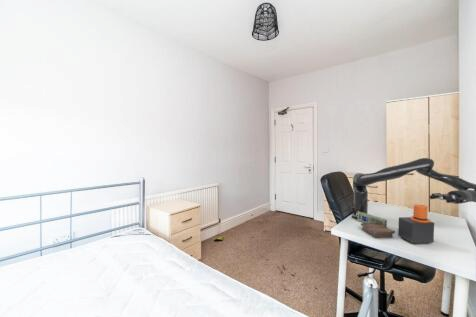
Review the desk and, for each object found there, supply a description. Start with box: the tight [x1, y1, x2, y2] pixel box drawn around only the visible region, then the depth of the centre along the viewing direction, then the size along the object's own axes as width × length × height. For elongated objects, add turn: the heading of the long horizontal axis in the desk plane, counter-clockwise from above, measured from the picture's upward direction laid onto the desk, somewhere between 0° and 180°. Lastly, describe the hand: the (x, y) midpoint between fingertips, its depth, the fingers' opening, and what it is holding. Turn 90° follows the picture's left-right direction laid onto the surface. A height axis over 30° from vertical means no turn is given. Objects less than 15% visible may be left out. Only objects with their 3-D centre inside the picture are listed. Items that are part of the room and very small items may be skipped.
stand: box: [360, 222, 395, 239], centre depth 134 cm, size 14×12×4 cm
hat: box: [409, 203, 432, 223], centre depth 122 cm, size 9×9×8 cm
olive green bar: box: [351, 211, 388, 228], centre depth 150 cm, size 7×3×25 cm
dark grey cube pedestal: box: [398, 216, 435, 245], centre depth 123 cm, size 10×12×12 cm
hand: (438, 199), depth 124 cm, fingers open, 8 cm apart
